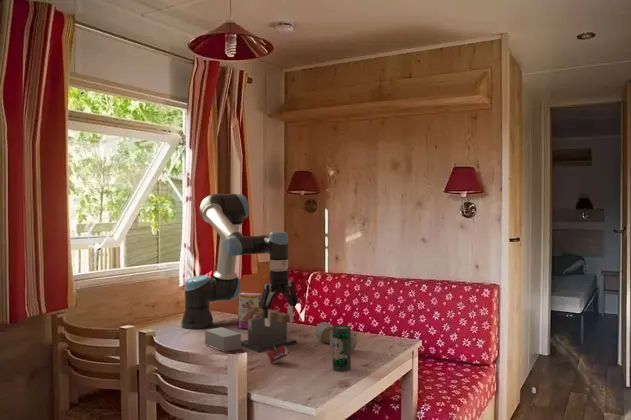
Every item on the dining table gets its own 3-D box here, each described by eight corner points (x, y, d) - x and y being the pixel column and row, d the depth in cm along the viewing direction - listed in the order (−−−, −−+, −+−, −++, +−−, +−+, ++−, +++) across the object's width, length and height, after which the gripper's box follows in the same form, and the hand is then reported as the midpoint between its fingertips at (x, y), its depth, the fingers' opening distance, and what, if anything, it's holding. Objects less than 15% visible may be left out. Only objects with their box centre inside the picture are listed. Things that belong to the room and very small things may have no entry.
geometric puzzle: (265, 360, 194) (278, 342, 195) (261, 355, 200) (274, 337, 201) (280, 371, 195) (293, 352, 197) (276, 365, 202) (289, 347, 203)
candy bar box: (237, 328, 251) (237, 294, 250) (241, 326, 255) (241, 292, 255) (259, 330, 248) (259, 295, 247) (263, 327, 252) (263, 293, 252)
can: (329, 368, 191) (329, 327, 191) (341, 365, 195) (341, 324, 195) (342, 372, 187) (342, 329, 186) (353, 368, 191) (353, 327, 191)
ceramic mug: (320, 344, 223) (321, 326, 223) (315, 339, 230) (315, 322, 230) (344, 343, 226) (345, 325, 226) (338, 338, 234) (338, 320, 234)
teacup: (325, 349, 216) (325, 329, 216) (350, 346, 220) (350, 327, 220) (339, 358, 203) (339, 338, 203) (365, 355, 207) (365, 335, 207)
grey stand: (205, 344, 224) (205, 330, 224) (221, 341, 229) (221, 327, 229) (223, 352, 212) (223, 337, 212) (240, 348, 217) (240, 333, 217)
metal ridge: (238, 345, 223) (238, 317, 222) (277, 336, 236) (277, 311, 235) (257, 352, 212) (257, 323, 212) (296, 343, 225) (296, 316, 225)
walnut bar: (247, 312, 232) (247, 305, 232) (253, 311, 234) (253, 304, 234) (283, 323, 213) (283, 315, 212) (289, 322, 215) (289, 314, 214)
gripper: (260, 273, 207) (260, 330, 207) (306, 268, 222) (307, 321, 222) (249, 271, 212) (249, 326, 213) (295, 266, 227) (295, 318, 228)
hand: (279, 323), depth 217 cm, fingers open, 11 cm apart
